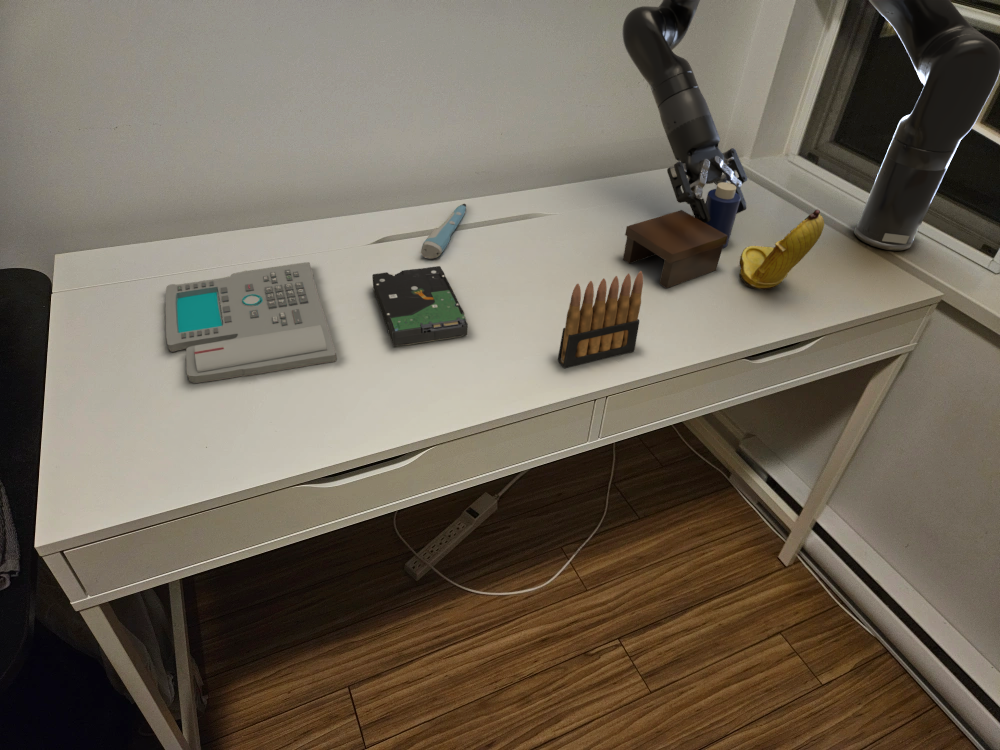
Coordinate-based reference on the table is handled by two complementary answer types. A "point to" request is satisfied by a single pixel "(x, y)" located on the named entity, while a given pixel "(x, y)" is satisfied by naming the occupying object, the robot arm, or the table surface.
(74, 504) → the table surface
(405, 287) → the disk drive
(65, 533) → the table surface
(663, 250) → the brown wooden stand
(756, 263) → the shrine
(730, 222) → the bottle
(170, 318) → the office telephone
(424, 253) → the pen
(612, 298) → the ammunition clip
